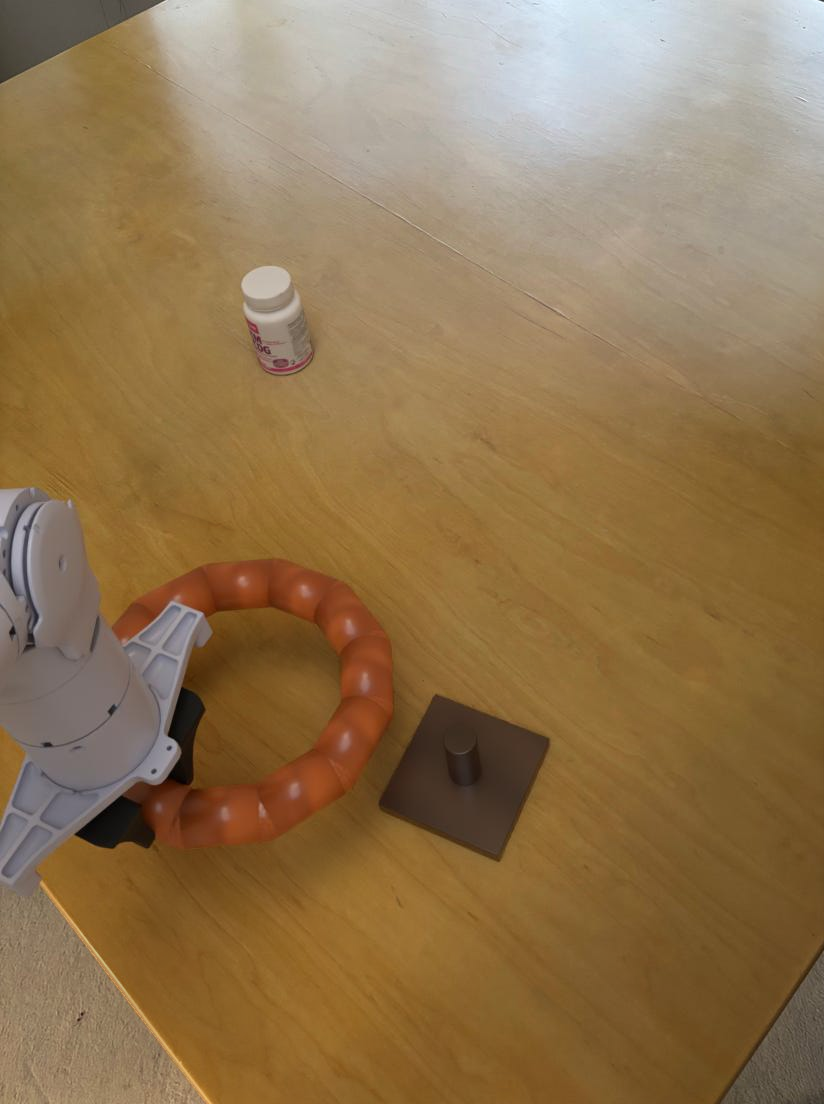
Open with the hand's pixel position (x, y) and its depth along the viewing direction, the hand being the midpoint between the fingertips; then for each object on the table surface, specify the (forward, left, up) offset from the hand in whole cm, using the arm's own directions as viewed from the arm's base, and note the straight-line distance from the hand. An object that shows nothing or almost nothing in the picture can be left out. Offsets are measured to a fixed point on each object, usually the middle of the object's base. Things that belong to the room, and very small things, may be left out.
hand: (156, 806), depth 57 cm
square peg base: (+11, -12, -9) cm, 19 cm away
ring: (+7, 0, 0) cm, 8 cm away
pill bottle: (+39, +18, -10) cm, 44 cm away
